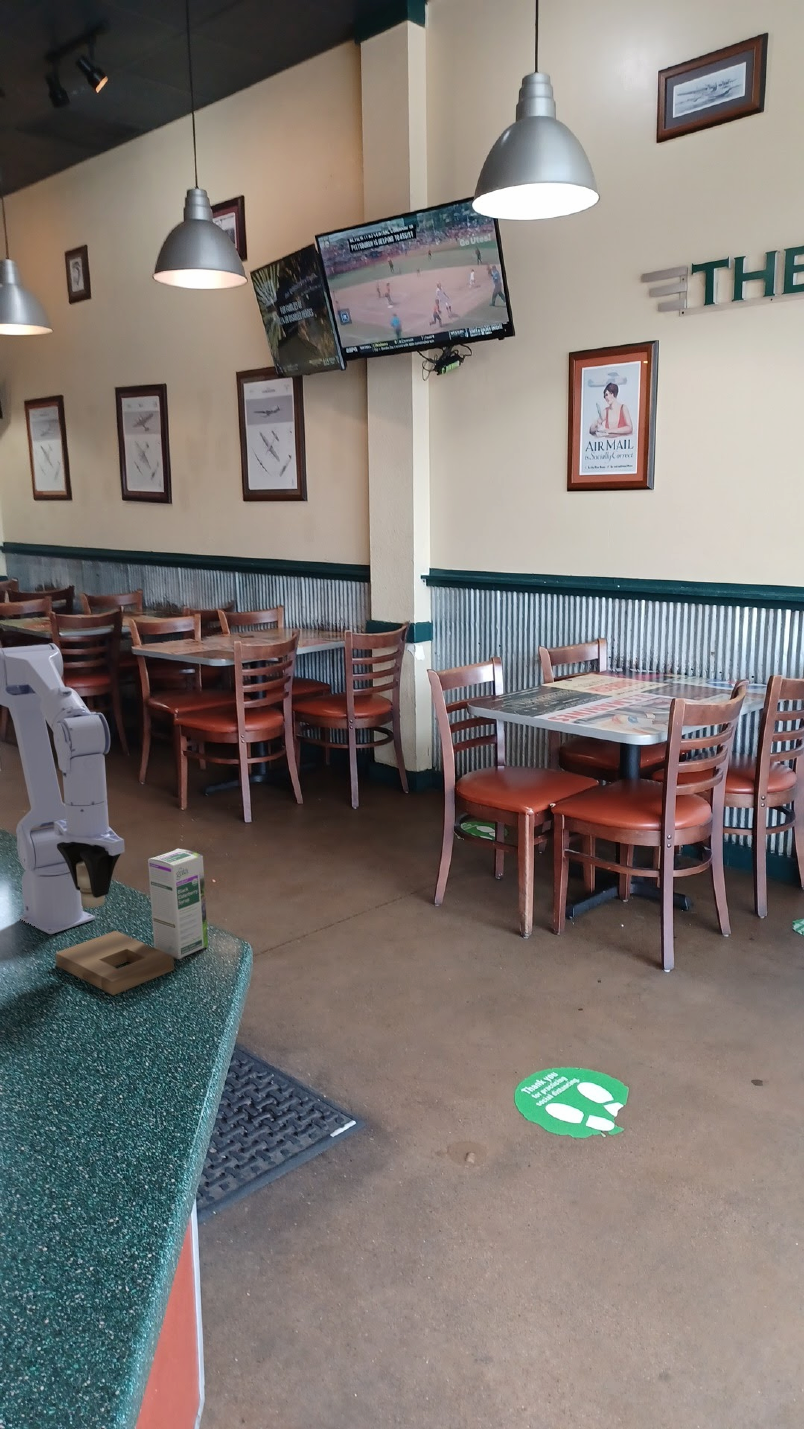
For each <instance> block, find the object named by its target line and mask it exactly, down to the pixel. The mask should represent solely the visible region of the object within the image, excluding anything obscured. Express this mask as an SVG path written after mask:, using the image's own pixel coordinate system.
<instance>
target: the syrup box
mask: <svg viewBox="0 0 804 1429" xmlns="http://www.w3.org/2000/svg"><path fill="white" fill-rule="evenodd" d="M147 866H148V877H149V878H148V880H149V881H148V882H149V893H150V894H149V895H150V905H151V906H150V908H151V920H152V933H153V948H155V949H158V950H160V951H162V952H164V953H167V954H169V955H171V956H173V957H174V959H177V960H182V959H183V958H184V957H186V956H189V955H190V954H193V953H195V952H197V951H199V950H200V951H201V950H203V949H206V948H208V946H209V936H208V922H207V920H208V919H207V907H206V888H205V886H206V885H205V872H204V856H203V855H202V854H200V853H197V852H196V851H192V850H188V849H183V848H176V849H174V850H172V851H169V852H166V853H163V854H161V855H157V856H155V857H150V858H148V859H147Z"/></svg>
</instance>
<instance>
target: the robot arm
mask: <svg viewBox="0 0 804 1429" xmlns="http://www.w3.org/2000/svg"><path fill="white" fill-rule="evenodd" d="M63 674H64V660H63V656H62V653H61V650H60V648H59V647H58V646H57V644H55V643H51V642H50V643H47V644H38V645H27V646H25V645H24V646H13V647H3V648H2V647H0V705H1V706H3V707H6V708H8V711H9V713H10V715H11V719H12V721H13V727H14V732H15V736H16V741H17V746H18V751H19V755H20V756H19V757H20V760H21V766H22V771H23V775H24V781H25V785H26V789H27V795H28V801H29V805H30V810H29V811H28V812H27V813H26V814H25V815H24V816H23V817H22V818H21V819H20V820H19V822H18V823H17V825H16V828H15V832H16V838H17V840H16V841H17V842H16V843H17V844H16V845H17V846H16V847H17V855H18V856H17V857H18V859H19V862H20V864H21V867H22V868H23V869H24V872H23V874H22V877H21V890H22V902H23V914H22V915H20V916H18V919H19V920H20V919H21V920H20V921H22V920H23V921H22V922H24V921H25V922H24V923H26V924H28V923H29V924H28V925H30V924H31V925H30V926H32V927H34V926H35V927H34V928H36V929H38V930H40V931H42V932H45V933H47V934H48V935H53V934H55V933H56V934H57V933H58V932H59V933H60V932H62V931H64V930H68V929H70V928H73V927H77V926H79V925H81V924H85V923H87V922H90V921H93V920H95V916H96V915H93V914H91V913H89V912H86V911H84V910H83V909H84V907H83V906H82V904H81V893H80V887H78V882H77V870H76V864H77V863H79V862H81V861H84V863H85V866H86V868H87V871H88V875H89V879H90V886H91V891H92V894H93V897H95V898H98V897H101V896H104V897H105V896H107V895H109V892H110V888H111V883H112V878H113V874H114V870H115V867H116V864H117V862H118V860H119V858H120V856H121V854H123V853H125V852H126V849H125V839H124V838H122V837H120V836H119V835H118V834H116V832H115V831H114V830H113V829H112V828H111V827H110V824H109V821H110V820H109V808H108V807H109V806H108V792H107V790H108V789H107V781H106V780H107V779H106V778H107V776H106V763H105V761H106V760H105V755H106V754H107V755H108V753H109V751H110V747H111V733H110V728H109V724H108V722H107V720H106V717H105V716H104V714H103V713H101V712H96V711H90V709H89V707H87V706H86V704H85V702H84V701H83V699H82V698H81V696H80V695H79V693H78V692H77V691H76V690H75V689H73V688H71V687H70V686H65V684H64V682H63V679H62V677H63ZM47 724H48V726H49V727H50V729H51V730H52V732H53V742H54V748H55V751H56V756H57V763H58V764H57V765H58V769H59V770H60V771H61V772H62V773H61V774H62V782H63V783H62V785H63V796H64V797H63V798H64V802H63V799H62V794H61V790H60V785H59V784H60V783H59V780H58V779H59V778H58V776H57V770H56V765H55V760H54V757H53V756H54V755H53V752H52V751H53V750H52V747H51V742H50V741H51V740H50V736H49V732H48V726H47Z"/></svg>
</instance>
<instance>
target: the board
mask: <svg viewBox="0 0 804 1429" xmlns="http://www.w3.org/2000/svg"><path fill="white" fill-rule="evenodd" d="M174 959H175V958H174V957H173V956H171V955H169V954H167V953H164V952H162V951H160V950H158V949H155V948H154V946H151V945H148V944H146V943H144V942H142V941H140V940H138V939H136V938H133V937H131V936H129V935H126V934H124V933H122V932H120V931H117V930H114V931H111V932H108V933H105V934H103V935H99V936H98V937H94V938H92V939H90V940H87V941H84V942H81V943H79V944H75V945H72V946H70V947H67V948H64V949H61V950H59V951H56V952H55V964H56V965H55V966H57V967H58V968H59V969H62V970H64V971H65V972H68V973H70V974H72V975H74V976H75V977H77V978H79V979H81V980H83V981H85V982H87V983H89V984H91V985H93V986H94V987H96V988H98V989H100V990H102V991H104V992H106V993H108V994H110V995H112V996H115V995H118V994H120V993H123V992H125V991H127V990H130V989H132V988H135V987H136V986H139V985H141V984H144V983H146V982H149V981H151V980H153V979H156V978H158V977H160V976H163V975H165V974H168V973H170V972H172V971H174V970H175V962H174ZM125 963H129V964H127V965H124V966H122V967H119V968H118V966H120V965H122V964H125Z"/></svg>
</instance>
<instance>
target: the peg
mask: <svg viewBox="0 0 804 1429" xmlns="http://www.w3.org/2000/svg"><path fill="white" fill-rule="evenodd" d="M76 870H77V882H78V887H80V893H81V904H82V906H83V908H87V909H88V908H90V909H91V908H98V907H100V906H103V905H105V903H106V902H105V901H106V898H105V895H104V896H101V897H98V898H95V897H93V894H92V891H91V886H90V879H89V875H88V871H87V868H86V866H85V863H84V861H81V862H79V863H77V864H76Z"/></svg>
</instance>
